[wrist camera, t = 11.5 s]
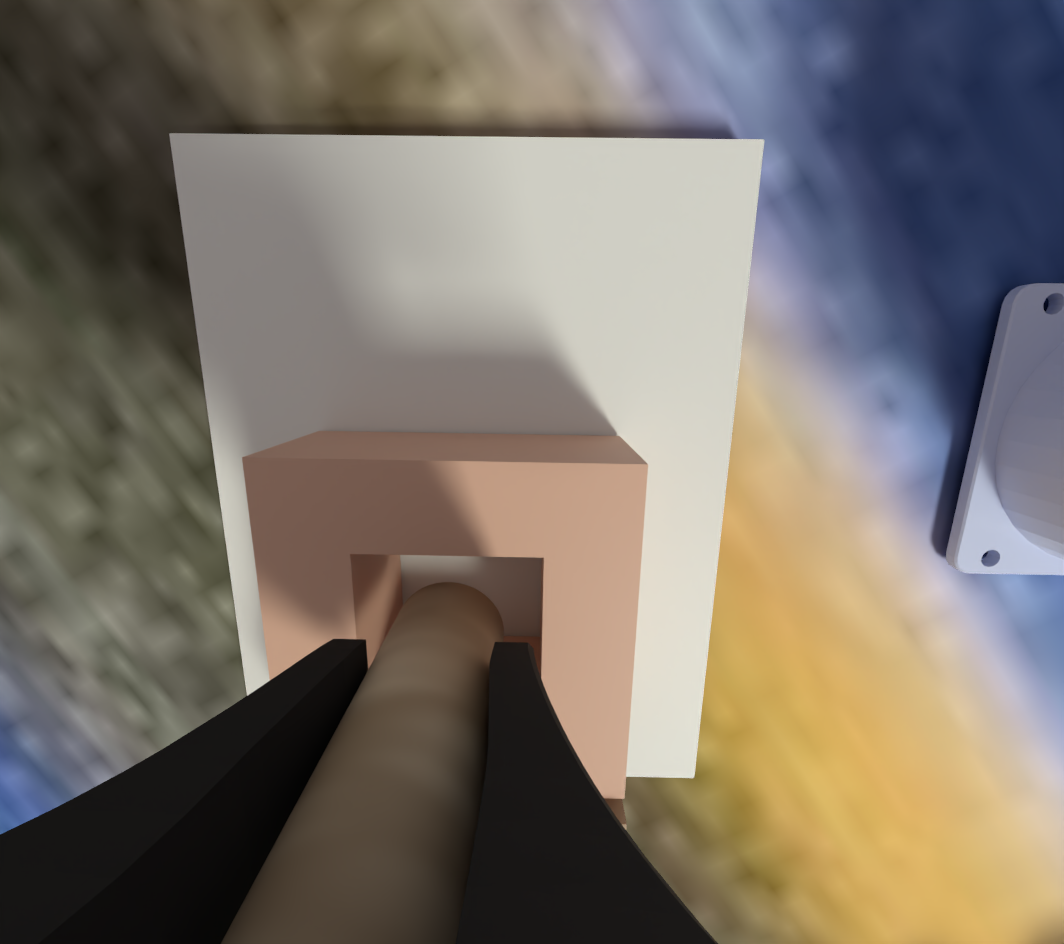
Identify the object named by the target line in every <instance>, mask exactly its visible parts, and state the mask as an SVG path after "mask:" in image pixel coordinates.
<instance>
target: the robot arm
mask: <svg viewBox="0 0 1064 944" xmlns="http://www.w3.org/2000/svg"><path fill="white" fill-rule="evenodd" d="M1046 298H1048V300H1049V306H1048V308H1047V310H1046V311H1044V309H1043V303H1044V301H1045V299H1046ZM987 551H988V554H987V556H986V557H985V558H984V559H983V560H981V558H982V556H983V554H984V553H986V552H987ZM946 560H947V562H948V564H949V565H950V566H952V567H953V568H955V569H957V570H959V571H961V572H964V573H980V574H1031V575H1064V283H1035V284H1028V285H1022V286H1018V287H1016V288H1014V289H1013V290H1011V291H1010V292H1009V293H1008V294H1007V296H1006V297H1005V299H1004V301H1003V304H1002V307H1001V311H1000V316H999V320H998V325H997V329H996V334H995V338H994V343H993V347H992V351H991V356H990V360H989V365H988V369H987V374H986V378H985V383H984V387H983V391H982V396H981V400H980V405H979V409H978V414H977V418H976V422H975V427H974V431H973V436H972V440H971V445H970V449H969V454H968V458H967V462H966V467H965V471H964V476H963V480H962V485H961V489H960V494H959V498H958V502H957V507H956V511H955V516H954V520H953V525H952V529H951V534H950V538H949V542H948V547H947V551H946ZM367 671H368V660H367V646H366V639H332V640H330V641H329V642H327V643H325V644H324V645H322V646H320V647H319V648H317V649H316V650H314V651H313V652H311V653H310V654H308V655H307V656H305V657H304V658H302V659H301V660H299V661H298V662H296V663H295V664H293V665H292V666H291V667H289V668H288V669H286V670H285V671H283V672H282V673H280V674H279V675H277V676H276V677H274V678H273V679H271V680H270V681H268V682H267V683H265V684H264V685H263V686H261V687H260V688H258V689H257V690H255V691H254V692H252V693H251V694H249V695H248V696H246V697H245V698H243V699H242V700H240V701H239V702H237V703H236V704H234V705H233V706H231V707H230V708H228V709H226V710H225V711H223V712H222V713H220V714H218V715H217V716H215V717H214V718H212V719H210V720H209V721H207V722H206V723H204V724H202V725H201V726H199V727H198V728H196V729H194V730H193V731H191V732H190V733H188V734H186V735H185V736H183V737H182V738H180V739H178V740H177V741H175V742H174V743H172V744H170V745H169V746H167V747H166V748H164V749H162V750H160V751H159V752H157V753H155V754H154V755H152V756H150V757H148V758H147V759H145V760H143V761H142V762H140V763H138V764H136V765H134V766H133V767H131V768H129V769H127V770H126V771H124V772H122V773H120V774H118V775H117V776H115V777H113V778H111V779H109V780H107V781H105V782H104V783H102V784H100V785H98V786H96V787H94V788H92V789H91V790H89V791H87V792H85V793H83V794H81V795H79V796H78V797H76V798H74V799H72V800H70V801H68V802H66V803H64V804H62V805H60V806H58V807H56V808H54V809H52V810H50V811H48V812H46V813H44V814H42V815H40V816H38V817H36V818H34V819H32V820H30V821H28V822H26V823H23V824H21V825H19V826H17V827H15V828H13V829H11V830H9V831H7V832H5V833H3V834H1V835H0V944H221V942H222V940H223V939H224V937H225V935H226V933H227V931H228V929H229V927H230V926H231V924H232V922H233V920H234V918H235V916H236V914H237V913H238V911H239V909H240V907H241V905H242V903H243V901H244V900H245V898H246V896H247V894H248V892H249V890H250V888H251V887H252V885H253V883H254V881H255V879H256V877H257V875H258V874H259V872H260V870H261V868H262V866H263V864H264V862H265V861H266V859H267V857H268V855H269V853H270V851H271V849H272V848H273V846H274V844H275V842H276V840H277V838H278V836H279V835H280V833H281V831H282V829H283V827H284V825H285V823H286V822H287V820H288V818H289V816H290V814H291V812H292V811H293V809H294V807H295V805H296V803H297V801H298V799H299V798H300V796H301V794H302V792H303V790H304V788H305V786H306V785H307V783H308V781H309V779H310V777H311V775H312V773H313V772H314V770H315V768H316V766H317V764H318V762H319V760H320V759H321V757H322V755H323V753H324V751H325V749H326V747H327V746H328V744H329V742H330V740H331V738H332V736H333V734H334V733H335V731H336V729H337V727H338V725H339V723H340V721H341V720H342V718H343V716H344V714H345V712H346V710H347V708H348V707H349V705H350V703H351V701H352V699H353V697H354V695H355V694H356V692H357V690H358V688H359V686H360V684H361V682H362V681H363V679H364V677H365V675H366V673H367ZM455 944H718V943H717V942H716V941H715V940H714V939H713V938H712V936H711V935H710V934H709V933H708V932H707V931H706V930H705V929H704V928H703V926H702V925H701V924H700V923H699V922H698V920H697V919H696V918H695V917H694V916H693V914H692V913H691V912H690V911H689V909H688V908H687V907H686V906H685V905H684V903H683V902H682V901H681V900H680V898H679V897H678V896H677V895H676V894H675V892H674V891H673V890H672V889H671V887H670V886H669V885H668V884H667V883H666V881H665V880H664V879H663V878H662V876H661V875H660V874H659V873H658V872H657V870H656V869H655V868H654V867H653V865H652V864H651V863H650V862H649V861H648V859H647V858H646V857H645V856H644V854H643V853H642V852H641V850H640V849H639V848H638V846H637V845H636V843H635V842H634V841H633V839H632V838H631V836H630V835H629V834H628V832H627V831H626V830H625V828H624V827H623V825H622V824H621V823H620V821H619V820H618V819H617V817H616V816H615V814H614V813H613V811H612V810H611V808H610V807H609V805H608V804H607V802H606V801H605V799H604V798H603V796H602V795H601V793H600V792H599V790H598V789H597V787H596V785H595V784H594V782H593V781H592V779H591V777H590V776H589V774H588V772H587V771H586V769H585V767H584V766H583V764H582V762H581V760H580V759H579V757H578V755H577V753H576V752H575V750H574V748H573V746H572V744H571V743H570V741H569V739H568V737H567V735H566V733H565V731H564V729H563V727H562V725H561V723H560V721H559V719H558V717H557V715H556V712H555V710H554V708H553V706H552V704H551V702H550V700H549V697H548V695H547V692H546V690H545V687H544V685H543V682H542V679H541V677H540V674H539V671H538V668H537V664H536V660H535V656H534V648H533V647H532V646H531V645H530V644H529V643H526V642H495V643H494V647H493V650H492V654H491V658H490V663H489V724H488V754H487V766H486V774H485V780H484V786H483V792H482V798H481V805H480V811H479V817H478V823H477V829H476V834H475V840H474V846H473V852H472V857H471V863H470V869H469V874H468V880H467V886H466V891H465V896H464V901H463V907H462V912H461V917H460V922H459V927H458V933H457V938H456V943H455Z"/></svg>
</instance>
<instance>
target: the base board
mask: <svg viewBox="0 0 1064 944" xmlns="http://www.w3.org/2000/svg"><path fill="white" fill-rule="evenodd" d="M169 136H170V143H171V150H172V157H173V164H174V172H175V179H176V186H177V193H178V201H179V208H180V215H181V222H182V229H183V237H184V244H185V251H186V258H187V266H188V273H189V280H190V287H191V294H192V302H193V309H194V316H195V323H196V330H197V338H198V345H199V352H200V359H201V367H202V374H203V381H204V388H205V395H206V403H207V410H208V417H209V424H210V432H211V439H212V446H213V453H214V460H215V468H216V475H217V482H218V489H219V496H220V504H221V511H222V518H223V525H224V533H225V540H226V547H227V554H228V561H229V569H230V576H231V583H232V590H233V598H234V605H235V612H236V619H237V626H238V634H239V641H240V648H241V655H242V663H243V670H244V677H245V684H246V691H247V696H248V695H249V694H251V693H252V692H254V691H255V690H257V689H258V688H260V687H261V686H263V685H264V684H265V683H267V682H268V681H270V678H269V670H268V662H267V654H266V646H265V638H264V630H263V622H262V614H261V606H260V598H259V590H258V582H257V574H256V566H255V558H254V550H253V542H252V534H251V526H250V518H249V510H248V502H247V494H246V486H245V478H244V470H243V463H242V457H244V456H247V455H250V454H253V453H256V452H259V451H262V450H265V449H268V448H271V447H274V446H277V445H279V444H282V443H285V442H288V441H291V440H294V439H297V438H300V437H303V436H306V435H309V434H312V433H314V432H317V431H358V432H418V433H478V434H539V435H599V436H620V437H621V438H622V439H623V440H624V441H625V442H626V443H627V444H628V445H629V446H630V447H631V448H632V449H633V450H634V451H635V452H636V453H637V454H638V455H639V456H640V457H641V458H642V459H643V460H644V461H645V462H646V463H647V464H648V474H647V488H646V502H645V516H644V530H643V544H642V558H641V572H640V586H639V600H638V614H637V628H636V642H635V656H634V670H633V684H632V698H631V712H630V726H629V740H628V754H627V768H626V776H628V777H671V778H694V774H695V765H696V756H697V747H698V738H699V729H700V720H701V710H702V701H703V692H704V683H705V674H706V665H707V656H708V647H709V638H710V629H711V620H712V611H713V602H714V592H715V583H716V574H717V565H718V556H719V547H720V538H721V529H722V520H723V511H724V502H725V493H726V484H727V474H728V465H729V456H730V447H731V438H732V429H733V420H734V411H735V402H736V393H737V384H738V375H739V366H740V356H741V347H742V338H743V329H744V320H745V311H746V302H747V293H748V284H749V275H750V266H751V257H752V248H753V238H754V229H755V220H756V211H757V202H758V193H759V184H760V175H761V166H762V157H763V148H764V140H762V139H668V138H573V137H478V136H383V135H288V134H193V133H169ZM400 560H401V579H402V599H403V605H404V603H405V602H406V601H407V599H408V598H409V597H410V596H411V595H412V594H414V593H415V592H416V591H418V590H420V589H421V588H423V587H426V586H428V585H431V584H435V583H441V582H455V583H461V584H465V585H468V586H471V587H473V588H475V589H477V590H479V591H480V592H482V593H483V594H485V595H486V596H487V597H488V598H489V599H490V600H491V601H492V602H493V603H494V605H495V606H496V608H497V609H498V611H499V613H500V615H501V618H502V621H503V627H504V636H530V637H540V610H541V562H542V558H535V557H482V556H430V555H400ZM604 799H605V801H606V802H607V804H608V805H609V807H610V808H611V810H612V811H613V813H614V814H615V816H616V817H617V819H618V820H619V821H620V823H621V824H622V825H623V827H624V828H625V830H626V826H627V824H626V818H625V813H624V808H623V802H622V799H610V798H604Z"/></svg>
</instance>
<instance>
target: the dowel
mask: <svg viewBox="0 0 1064 944" xmlns="http://www.w3.org/2000/svg"><path fill="white" fill-rule="evenodd" d="M503 638H504V627H503V621H502V618H501V615H500V613H499V611H498V609H497V608H496V606H495V605H494V603H493V602H492V601H491V600H490V599H489V598H488V597H487V596H486V595H485V594H483V593H482V592H480V591H479V590H477V589H475V588H473V587H471V586H468V585H465V584H461V583H455V582H441V583H435V584H431V585H428V586H426V587H423V588H421V589H420V590H418V591H416V592H415V593H414V594H412V595H411V596H410V597H409V598H408V599H407V601H406V602H405V603H404V605H403V606H402V608H401V610H400V612H399V614H398V616H397V617H396V619H395V621H394V623H393V625H392V627H391V629H390V630H389V632H388V634H387V636H386V638H385V640H384V642H383V643H382V645H381V647H380V649H379V651H378V653H377V655H376V656H375V658H374V660H373V662H372V664H371V666H370V668H369V669H368V671H367V673H366V675H365V677H364V679H363V681H362V682H361V684H360V686H359V688H358V690H357V692H356V694H355V695H354V697H353V699H352V701H351V703H350V705H349V707H348V708H347V710H346V712H345V714H344V716H343V718H342V720H341V721H340V723H339V725H338V727H337V729H336V731H335V733H334V734H333V736H332V738H331V740H330V742H329V744H328V746H327V747H326V749H325V751H324V753H323V755H322V757H321V759H320V760H319V762H318V764H317V766H316V768H315V770H314V772H313V773H312V775H311V777H310V779H309V781H308V783H307V785H306V786H305V788H304V790H303V792H302V794H301V796H300V798H299V799H298V801H297V803H296V805H295V807H294V809H293V811H292V812H291V814H290V816H289V818H288V820H287V822H286V823H285V825H284V827H283V829H282V831H281V833H280V835H279V836H278V838H277V840H276V842H275V844H274V846H273V848H272V849H271V851H270V853H269V855H268V857H267V859H266V861H265V862H264V864H263V866H262V868H261V870H260V872H259V874H258V875H257V877H256V879H255V881H254V883H253V885H252V887H251V888H250V890H249V892H248V894H247V896H246V898H245V900H244V901H243V903H242V905H241V907H240V909H239V911H238V913H237V914H236V916H235V918H234V920H233V922H232V924H231V926H230V927H229V929H228V931H227V933H226V935H225V937H224V939H223V940H222V942H221V944H455V943H456V938H457V933H458V927H459V922H460V917H461V912H462V907H463V901H464V896H465V891H466V886H467V880H468V874H469V869H470V863H471V857H472V852H473V846H474V840H475V834H476V829H477V823H478V817H479V811H480V805H481V798H482V792H483V786H484V780H485V774H486V766H487V754H488V724H489V663H490V658H491V654H492V650H493V647H494V643H495V642H503Z"/></svg>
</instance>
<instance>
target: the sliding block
mask: <svg viewBox="0 0 1064 944" xmlns="http://www.w3.org/2000/svg"><path fill="white" fill-rule="evenodd" d="M242 463H243V470H244V478H245V486H246V494H247V502H248V510H249V518H250V526H251V534H252V542H253V550H254V558H255V566H256V574H257V582H258V590H259V598H260V606H261V614H262V622H263V630H264V638H265V646H266V654H267V662H268V670H269V678H270V680H271V679H273V678H274V677H276V676H277V675H279V674H280V673H282V672H283V671H285V670H286V669H288V668H289V667H291V666H292V665H293V664H295V663H296V662H298V661H299V660H301V659H302V658H304V657H305V656H307V655H308V654H310V653H311V652H313V651H314V650H316V649H317V648H319V647H320V646H322V645H324V644H325V643H327V642H329V641H330V640H332V639H366V646H367V660H368V669H369V668H370V666H371V664H372V662H373V660H374V658H375V656H376V655H377V653H378V651H379V649H380V647H381V645H382V643H383V642H384V640H385V638H386V636H387V634H388V632H389V630H390V629H391V627H392V625H393V623H394V621H395V619H396V617H397V616H398V614H399V612H400V610H401V608H402V606H403V599H402V579H401V560H400V555H430V556H482V557H535V558H542V562H541V610H540V637H530V636H504V638H503V642H526V643H529V644H530V645H531V646H532V647H533V648H534V656H535V660H536V664H537V668H538V671H539V674H540V677H541V679H542V682H543V685H544V687H545V690H546V692H547V695H548V697H549V700H550V702H551V704H552V706H553V708H554V710H555V712H556V715H557V717H558V719H559V721H560V723H561V725H562V727H563V729H564V731H565V733H566V735H567V737H568V739H569V741H570V743H571V744H572V746H573V748H574V750H575V752H576V753H577V755H578V757H579V759H580V760H581V762H582V764H583V766H584V767H585V769H586V771H587V772H588V774H589V776H590V777H591V779H592V781H593V782H594V784H595V785H596V787H597V789H598V790H599V792H600V793H601V795H602V796H603V798H610V799H624V797H625V783H626V768H627V754H628V740H629V726H630V712H631V698H632V684H633V670H634V656H635V642H636V628H637V614H638V600H639V586H640V572H641V558H642V544H643V530H644V516H645V502H646V488H647V474H648V464H647V463H646V462H645V461H644V460H643V459H642V458H641V457H640V456H639V455H638V454H637V453H636V452H635V451H634V450H633V449H632V448H631V447H630V446H629V445H628V444H627V443H626V442H625V441H624V440H623V439H622V438H621V437H620V436H599V435H539V434H478V433H418V432H358V431H317V432H314V433H312V434H309V435H306V436H303V437H300V438H297V439H294V440H291V441H288V442H285V443H282V444H279V445H277V446H274V447H271V448H268V449H265V450H262V451H259V452H256V453H253V454H250V455H247V456H244V457H242Z"/></svg>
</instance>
